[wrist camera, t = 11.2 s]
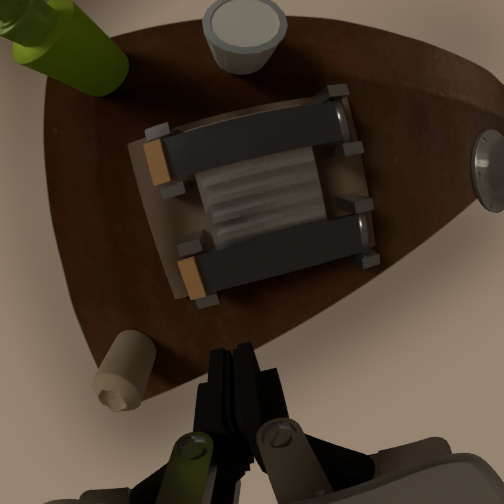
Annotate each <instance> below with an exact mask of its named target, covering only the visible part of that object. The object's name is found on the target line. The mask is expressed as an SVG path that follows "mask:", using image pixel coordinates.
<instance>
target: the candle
mask: <svg viewBox="0 0 504 504" xmlns="http://www.w3.org/2000/svg"><path fill="white" fill-rule="evenodd" d="M155 358H156V347H155V345H154V343H153V341H152V340H151V339H150V338H149V337H148V336H147V335H145V334H144V333H142V332H139V331H136V330H126V331H123V332H121V333H120V334H119V335H118V336H117V338H116V339H115V341H114V343H113V344H112V346H111V348H110V350H109V351H108V353H107V355H106V357H105V358H104V360H103V362H102V364H101V365H100V367H99V369H98V371H97V373H96V375H95V376H94V378H93V381H92V386H93V389H94V391H95V393H96V395H97V396H98V398H99V400H100V402H101V403H102V404H103V405H106V406H108V407H109V408H110V409H111V410H112V411H114V412H118V411H129V410H134V409H136V408H138V407H139V406H140V404H141V401H142V398H143V395H144V392H145V388H146V385H147V382H148V379H149V376H150V373H151V370H152V367H153V364H154V361H155Z"/></svg>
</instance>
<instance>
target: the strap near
mask: <svg viewBox="0 0 504 504" xmlns="http://www.w3.org/2000/svg"><path fill="white" fill-rule="evenodd" d="M338 141H340V144H344V143H350V142H352V138H351V133H350V129H349V125H348V121H347V117H346V114H345V110H344V106H343V103H342V99H341V98H333V99H330V100H329V102H323V103H315V104H308V105H301V106H295V107H289V108H283V109H277V110H272V111H267V112H262V113H257V114H252V115H248V116H243V117H239V118H235V119H230V120H226V121H222V122H218V123H215V124H211V125H207V126H204V127H200V128H197V129H193V130H190V131H187V132H183V133H180V134H177V135H174V136H171V137H168V138H165V139H162V140H161V139H157V140H155V141H152V142H149V143H146V144H143V146H144V150H145V154H146V158H147V162H148V166H149V170H150V174H151V177H152V181H153V185H154V186H157V185H160V184H163V183H167V182H170V181H173V180H176V179H179V178H183V177H186V176H189V175H193V174H196V173H199V172H203V171H206V170H210V169H214V168H217V167H221V166H225V165H229V164H233V163H236V162H240V161H244V160H249V159H253V158H257V157H261V156H266V155H270V154H275V153H279V152H284V151H289V150H294V149H299V148H304V147H309V146H315V145H320V144H326V143H332V142H338Z"/></svg>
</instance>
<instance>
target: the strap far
mask: <svg viewBox="0 0 504 504" xmlns="http://www.w3.org/2000/svg"><path fill="white" fill-rule="evenodd" d="M370 252H371V250H370V241H369V233H368V225H367V218H366V211H365V212H361V213H357V214H355V213H352V214H348V215H344V216H340V217H336V218H332V219H328V220H323V221H319V222H316V223H312V224H308V225H304V226H300V227H296V228H292V229H288V230H284V231H280V232H276V233H272V234H268V235H264V236H261V237H257V238H253V239H249V240H245V241H241V242H237V243H234V244H230V245H226V246H222V247H218V248H215V249H211V250H207V251H203V252H200V253H196V254H192V255H188V256H185V257H181V258H180V259H179V261H178V266H179V269H180V272H181V274H182V277H183V280H184V283H185V286H186V289H187V291H188V294H189V297H190V300H194V299H198V298H202V297H206V294H207V293H211V292H215V291H219V290H223V289H227V288H231V287H235V286H239V285H243V284H247V283H251V282H255V281H259V280H262V279H266V278H270V277H274V276H278V275H281V274H285V273H289V272H293V271H296V270H300V269H304V268H307V267H311V266H314V265H318V264H322V263H325V262H329V261H332V260H336V259H339V258H343V257H346V256H350V255H353V254H357V253H360V254H368V253H370Z"/></svg>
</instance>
